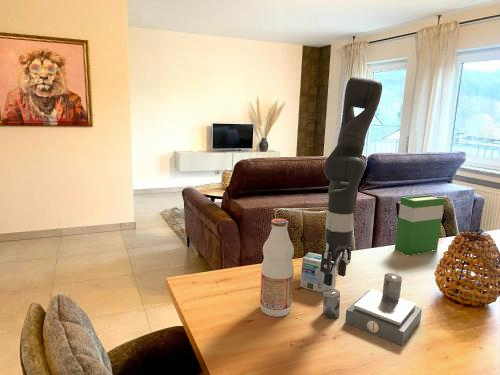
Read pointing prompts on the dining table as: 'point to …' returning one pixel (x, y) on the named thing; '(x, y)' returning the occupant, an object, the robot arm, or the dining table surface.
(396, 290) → the cylinder
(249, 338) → the dining table surface
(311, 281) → the light bulb box
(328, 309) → the cylinder
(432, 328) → the dining table surface
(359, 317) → the scale
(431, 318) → the dining table surface
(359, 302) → the platform
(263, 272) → the fruit juice
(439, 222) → the green cereal box
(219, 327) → the dining table surface
